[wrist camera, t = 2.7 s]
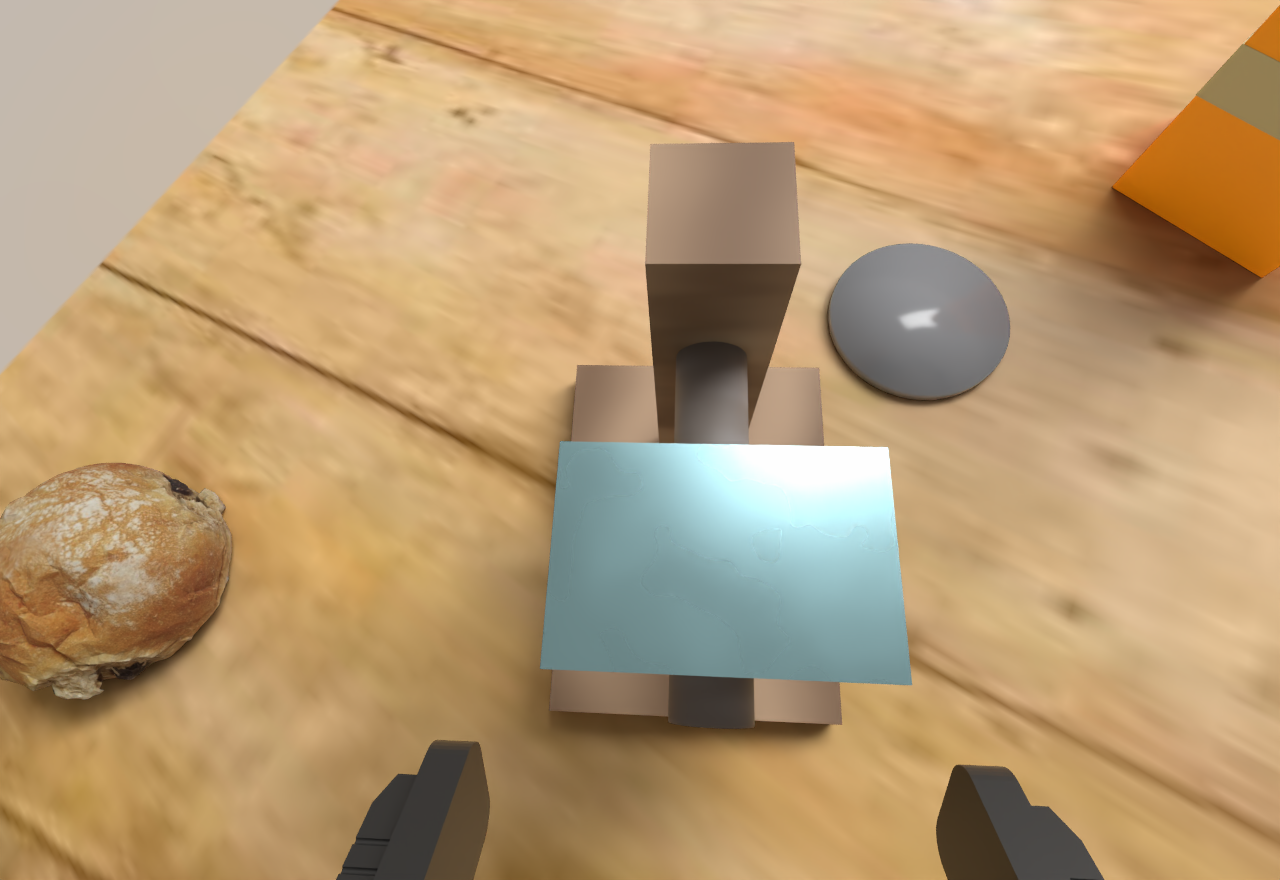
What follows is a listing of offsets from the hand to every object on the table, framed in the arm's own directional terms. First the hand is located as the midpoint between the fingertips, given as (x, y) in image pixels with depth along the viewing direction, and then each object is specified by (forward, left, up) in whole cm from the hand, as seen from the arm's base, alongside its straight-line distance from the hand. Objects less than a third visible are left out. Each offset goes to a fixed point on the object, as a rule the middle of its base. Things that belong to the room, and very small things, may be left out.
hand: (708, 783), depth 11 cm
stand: (0, -8, -17) cm, 19 cm away
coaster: (-12, -19, -17) cm, 28 cm away
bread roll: (+27, -5, -18) cm, 32 cm away
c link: (0, -4, -10) cm, 11 cm away
